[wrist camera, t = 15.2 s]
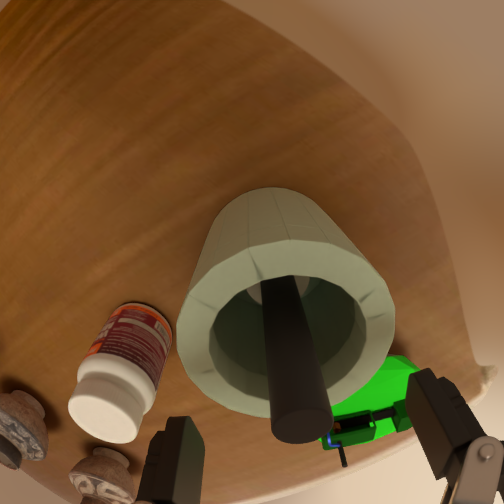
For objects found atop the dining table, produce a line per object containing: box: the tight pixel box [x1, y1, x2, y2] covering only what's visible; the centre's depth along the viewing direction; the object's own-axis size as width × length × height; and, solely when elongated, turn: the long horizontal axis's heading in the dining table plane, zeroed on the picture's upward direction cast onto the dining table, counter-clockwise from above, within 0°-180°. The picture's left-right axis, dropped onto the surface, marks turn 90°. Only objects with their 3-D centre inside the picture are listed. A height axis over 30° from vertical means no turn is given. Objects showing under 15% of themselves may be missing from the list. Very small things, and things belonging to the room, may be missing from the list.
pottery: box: [0, 390, 135, 504], centre depth 29 cm, size 11×25×12 cm, turn 50°
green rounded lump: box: [318, 354, 420, 467], centre depth 25 cm, size 12×12×11 cm
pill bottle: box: [68, 303, 172, 443], centre depth 23 cm, size 6×6×11 cm
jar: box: [176, 187, 395, 418], centre depth 20 cm, size 10×10×12 cm
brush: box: [246, 275, 334, 444], centre depth 17 cm, size 4×4×16 cm
